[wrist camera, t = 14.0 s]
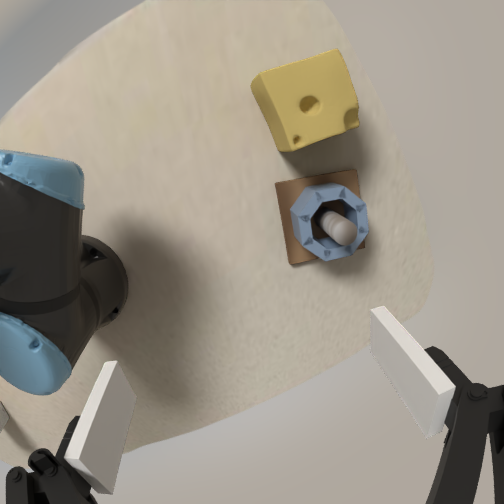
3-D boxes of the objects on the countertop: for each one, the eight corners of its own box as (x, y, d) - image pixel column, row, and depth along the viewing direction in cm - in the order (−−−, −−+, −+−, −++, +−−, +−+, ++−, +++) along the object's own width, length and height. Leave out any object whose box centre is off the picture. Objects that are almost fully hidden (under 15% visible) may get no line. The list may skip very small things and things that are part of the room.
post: (288, 262, 48) (304, 290, 38) (274, 183, 44) (288, 192, 34) (362, 245, 48) (391, 268, 39) (353, 169, 44) (385, 175, 35)
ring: (297, 253, 46) (305, 265, 42) (286, 190, 43) (294, 195, 39) (356, 240, 47) (370, 251, 42) (349, 179, 44) (363, 183, 39)
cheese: (342, 130, 42) (372, 127, 33) (274, 155, 43) (288, 156, 33) (316, 65, 39) (340, 45, 30) (246, 87, 40) (252, 69, 30)
